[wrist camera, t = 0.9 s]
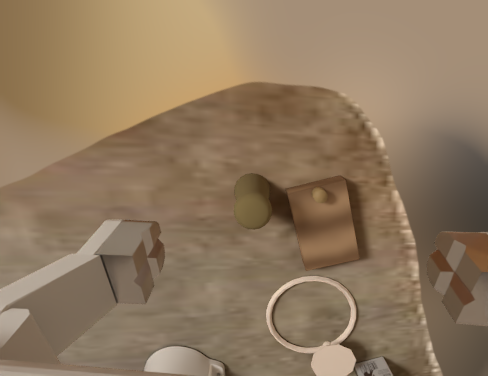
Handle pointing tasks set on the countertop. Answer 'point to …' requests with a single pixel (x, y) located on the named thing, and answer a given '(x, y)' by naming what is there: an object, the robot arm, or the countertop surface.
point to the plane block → (323, 222)
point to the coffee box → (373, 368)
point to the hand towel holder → (330, 353)
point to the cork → (252, 201)
